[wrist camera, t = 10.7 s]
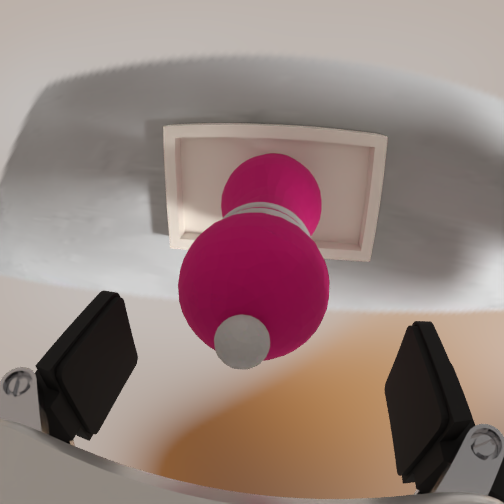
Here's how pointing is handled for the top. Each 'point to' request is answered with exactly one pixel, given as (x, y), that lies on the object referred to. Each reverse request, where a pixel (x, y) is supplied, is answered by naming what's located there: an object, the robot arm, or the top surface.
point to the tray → (281, 142)
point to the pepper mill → (258, 265)
